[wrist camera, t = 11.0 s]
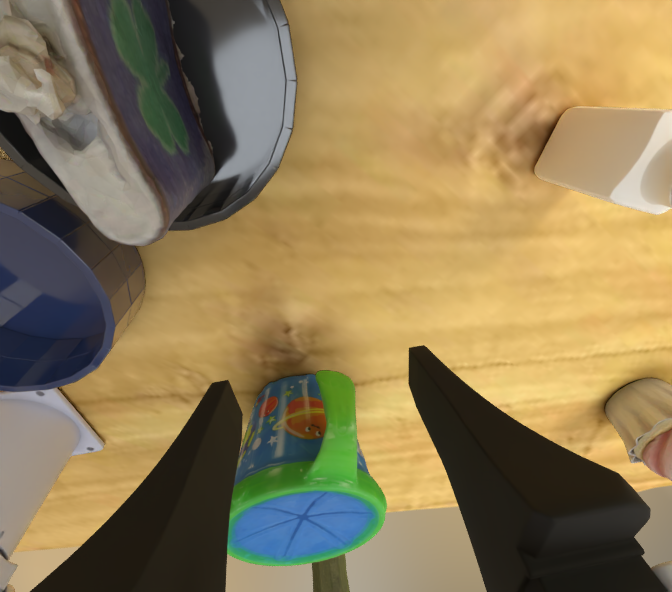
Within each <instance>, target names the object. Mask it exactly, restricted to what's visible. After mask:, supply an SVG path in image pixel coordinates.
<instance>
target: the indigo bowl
mask: <svg viewBox="0 0 672 592" xmlns="http://www.w3.org/2000/svg"><path fill="white" fill-rule="evenodd" d="M144 292H145V274H144V268H143V265H142V261H141V258H140V256H139V253H138V251H137V248H136V247H135V246H131V245H125V244H120V243H118V242H116V241H113V240H110V239H109V238H107V237H106V236H105V235H103V234H102V233H101V232H100V231H99V230H98V229H97V228H96V227H95V226H94V225H93V223H92V222H91V220H90V219H89V217H88V216H87V215H86V214H85V213H84V212H83V211H82V210H81V209H80V208H79V207H77V206H75V205H73V204H70V203H68V202H66V201H65V200H63V199H62V198H60V197H59V196H57V195H56V194H55V193H53V192H52V191H51V190H49V189H48V188H46V187H45V186H44V185H42V184H41V183H40V182H38V181H37V180H36V179H34V178H33V177H31V176H30V175H29V174H27V173H26V172H25V171H23V170H22V169H21V168H20V167H18V165H17V164H16V163H15V162H14V161H11V160H5V159H0V391H8V392H27V391H40V390H50V389H53V388H57V387H60V386H64V385H67V384H70V383H74V382H76V381H78V380H80V379H81V378H83V377H85V376H86V375H88V374H89V373H91V372H92V371H94V370H96V369H97V368H98V367H99V366H100V364H101V363H102V362H103V360H104V359H105V357H106V356H107V355H108V353H109V352H110V351H111V349H112V348H113V346H114V345H115V343H116V342H117V340H118V339H119V338H120V336H121V335H122V333H123V332H124V330H125V329H126V327H127V326H128V325H129V323H130V322H131V320H132V319H133V317H134V316H135V314H136V313H137V312H138V310H139V309H140V306H141V303H142V300H143V296H144Z"/></svg>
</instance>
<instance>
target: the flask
mask: <svg viewBox="0 0 672 592" xmlns="http://www.w3.org/2000/svg"><path fill="white" fill-rule="evenodd" d="M173 24H175V21H173V20H172V16H171V12H170V8H169V2H168V0H0V110H3V111H5V112H14V113H15V114H16V115H17V117H18V118H19V119H20V121H21V123H22V125H23V127H24V129H25V131H26V132H27V133H28V135H29V136H30V137H31V138H32V140H33V141H34V143H35V145H36V147H37V149H38V151H39V153H40V154H41V155H42V157H43V158H44V159H45V161H46V162H47V163H48V164H49V166H50V167H51V168H52V170H53V171H54V172H55V174H56V175H57V176H58V178H59V179H60V181H61V182H62V183H63V185H64V186H65V188H66V189H67V191H68V192H69V194H70V195H71V197H72V198H73V200H74V201H75V203H76V204H77V205H78V207H79V208H80V209H81V210H82V211H83V212H84V213H85V214H86V215H87V216H88V217H89V219H90V220H91V222H92V223H93V225H94V226H95V227H96V228H97V229H98V230H99V231H100V232H101V233H102V234H103V235H105V236H106V237H107V238H109V239H110V240H113V241H116V242H118V243H120V244H125V245H131V246H146V245H149V244H152V243H154V242H156V241H158V240H160V239H161V238H163V237H164V236H165V235H166V233H167V232H168V230H169V228H170V226H171V224H172V223H173V221H174V220H175V219H176V218H177V217H178V216H179V215H180V213H181V212H182V211H183V210H184V209H185V208H186V207H187V205H188V204H190V203H191V202H192V201H193V199H194V198H195V197H196V196H197V195H198V194H199V193H200V192H201V191H202V190H203V189H204V188H205V187H206V186H208V185H209V183H210V182H211V181H212V179H213V178H214V175H215V172H216V171H215V164H214V157H213V152H212V149H213V147H212V146H211V143H210V141H207V139H206V137H205V135H204V132H203V128H202V124H201V123H200V122H201V118H200V115H199V114H200V109H199V106H198V97H197V96H196V94H195V92H194V87H193V86H192V85H191V82H188V78H187V77H186V75H185V74H184V72H183V71H182V67H181V61H180V60H181V59H182V58H183V57H184V55H183V54H182V53H181V52H180V49H179V48H178V46H177V44H176V43H175V39H174V36H173Z"/></svg>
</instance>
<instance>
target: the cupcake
mask: <svg viewBox="0 0 672 592" xmlns="http://www.w3.org/2000/svg"><path fill="white" fill-rule="evenodd" d="M605 412H606V416H607V417H608V419H609V420H610V422H611V423H612V425H613V426H614V428H615V429H616V431H617V432H618V434H619V435H620V437H621V438H622V440H623V442H624V444H625V447H626V450H627V453H628V456H629V459H630V462H631V463H637V462H643V463H644V465H646V466H647V467H648V468H649V469H650V470H652V471H653V472H655V473H656V474H658V475H660V476H662V477H666V478H668V479H669V480H671V481H672V385H670V384H668V383H666V382H664V381H662V380H660V379H655V378H646V379H642V380H638V381H635V382H633V383H630V384H628V385H627V386H625V387H623V388H622V389H620V390H619V391H617V392H616V393H615V394H614V395H613V396H612V397H611V398H610V399H609V401H608V402H607V404H606V406H605Z"/></svg>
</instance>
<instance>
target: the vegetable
mask: <svg viewBox="0 0 672 592" xmlns="http://www.w3.org/2000/svg"><path fill="white" fill-rule="evenodd" d="M312 570H313V592H350V591H349V585H348V579H347V572H346V560H345V554H342V555H340V556H337V557H334V558H330V559H327V560H323V561H319V562H313V563H312Z"/></svg>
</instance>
